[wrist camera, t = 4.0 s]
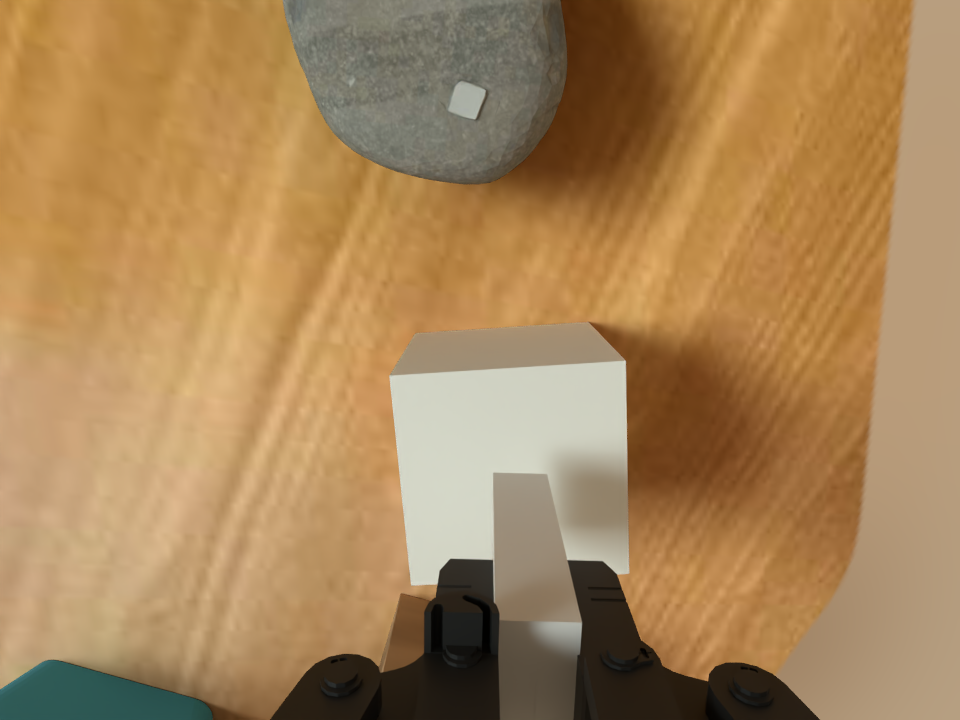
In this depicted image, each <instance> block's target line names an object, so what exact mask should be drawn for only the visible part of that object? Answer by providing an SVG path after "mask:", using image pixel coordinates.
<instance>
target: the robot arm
mask: <svg viewBox="0 0 960 720" xmlns="http://www.w3.org/2000/svg"><path fill="white" fill-rule="evenodd" d="M270 720H820V719H819V718H818V717H817V716H816V715H815V714H814V713H813V712H812V711H811V710H810V709H809V708H808V707H807V706H806V705H805V704H804V703H803V702H802V701H801V700H800V699H799V698H798V697H797V696H796V695H795V694H794V693H793V692H792V691H791V690H790V689H789V688H788V686H787V685H786V684H784V683H783V682H782V681H781V680H779V679H778V678H777V677H776V676H774V675H773V674H772V673H769V672H767V671H765V670H763V669H761V668H759V667H757V666H753V665H749V664H745V663H724V664H721V665H719V666H716V667H715V668H714V669H713V670H712V671H711V672H710V674H709V680H708V681H704V680H700V679H696V678H692V677H688V676H684V675H681V674H678V673H676V672H673V671H671V670H669V669H667V668H665V667H663V666H662V664H661V661H660V659H659V657H658V656H657V654H656V653H655V651H654V650H653V649H652V648H651V647H649V646H648V645H647V644H645V643H644V642H643V641H641V639H640V637H639V634H638V631H637V628H636V626H635V623H634V620H633V618H632V615H631V612H630V609H629V607H628V604H627V602H626V598H625V596H624V593H623V591H622V588H621V585H620V582H619V579H618V577H617V574H616V573H615V572H614V571H613V570H612V569H611V568H610V567H609V566H608V565H607V564H606V563H604V562H603V561H584V560H567V557H566V552H565V548H564V544H563V539H562V535H561V531H560V527H559V522H558V518H557V514H556V510H555V505H554V501H553V497H552V493H551V488H550V484H549V480H548V476H547V474H532V473H493V486H492V523H491V560H483V559H449V561H448V562H447V563H446V564H445V565H444V566H443V567H442V568H441V570H440V571H439V578H438V586H437V592H436V598H434V599H433V600H432V601H430V602H429V603H428V605H427V607H426V609H425V611H424V653H423V655H422V656H421V657H419V658H418V659H417V660H416V661H414V662H412V663H411V664H409V665H407V666H405V667H401V668H398V669H395V670H390V671H386V672H381V673H380V670H379V667H378V666H377V665H376V664H375V663H374V662H373V661H372V660H371V659H369V658H366V657H363V656H361V655H355V654H341V655H336V656H331V657H328V658H326V659H324V660H322V661H320V662H318V663H316V664H315V665H313V666H312V667H311V668H310V669H309V670H308V671H307V672H306V673H305V674H304V676H303V677H302V678H301V680H300V681H299V682H298V683H297V685H296V686H295V687H294V689H293V690H292V691H291V693H290V694H289V695H288V697H287V698H286V699H285V701H284V702H283V703H282V705H281V706H280V707H279V709H278V710H277V711H276V713H275V714H274V715H273V716H272V718H271V719H270Z"/></svg>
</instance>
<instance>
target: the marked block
mask: <svg viewBox="0 0 960 720" xmlns="http://www.w3.org/2000/svg"><path fill="white" fill-rule="evenodd" d="M429 602H430V601H428V600H424V599H420V598H416V597H412V596H409V595H405V594H401V595H400V598H399V601H398V605H397V608H396V612H395V615H394V618H393V622H392V625H391V629H390V632H389V635H388V639H387V642H386V646H385V649H384V652H383V656H382V659H381V663H380V666H379V670H380V673H381V672H386V671H390V670H395V669H398V668H401V667H405V666H407V665H409V664H411V663H412V662H414V661H416V660H417V659H418V658H419V657H421V656H422V655H423V653H424V611H425V609H426V607H427V605H428V603H429Z"/></svg>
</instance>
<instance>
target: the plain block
mask: <svg viewBox="0 0 960 720" xmlns="http://www.w3.org/2000/svg"><path fill="white" fill-rule="evenodd" d="M390 385H391V395H392V405H393V414H394V424H395V434H396V444H397V453H398V463H399V473H400V482H401V492H402V502H403V511H404V521H405V531H406V540H407V550H408V560H409V569H410V579H411V586H413V585H431V584H438V578H439V571H440V570H441V568H442V567H443V566H444V565H445V564H446V563H447V562H448V561H449V559H483V560H491V523H492V486H493V473H532V474H547V476H548V480H549V484H550V488H551V493H552V497H553V501H554V505H555V510H556V514H557V518H558V522H559V527H560V531H561V535H562V539H563V544H564V548H565V552H566V557H567V560H584V561H603V562H604V563H606V564H607V565H608V566H609V567H610V568H611V569H612V570H613V571H614V572H615V573H616V574H629V533H628V468H627V404H626V360H625V359H624V358H623V357H622V356H621V355H620V354H619V353H618V352H617V351H616V350H615V349H614V348H613V347H612V346H611V345H610V344H609V343H608V342H607V341H606V340H605V339H604V338H603V337H602V336H601V335H600V334H599V332H598V331H597V330H596V329H595V328H594V327H593V326H592V325H591V324H590V323H589V322H580V323H564V324H549V325H533V326H518V327H503V328H487V329H472V330H456V331H441V332H425V333H415V335H414V336H413V338H412V340H411V341H410V343H409V344H408V346H407V348H406V349H405V351H404V353H403V354H402V356H401V358H400V359H399V361H398V363H397V364H396V366H395V367H394V369H393V371H392V372H391V374H390Z"/></svg>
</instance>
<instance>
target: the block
mask: <svg viewBox="0 0 960 720" xmlns="http://www.w3.org/2000/svg"><path fill="white" fill-rule="evenodd" d="M0 720H213V716H212V712H211V710H210V708H209V707H208V706H207V705H206V704H205V703H203V702H202V701H200V700H197V699H194V698H191V697H187V696H183V695H180V694H176V693H173V692H169V691H165V690H162V689H158V688H155V687H151V686H148V685H144V684H140V683H137V682H133V681H130V680H126V679H122V678H119V677H115V676H112V675H108V674H104V673H101V672H97V671H94V670H90V669H86V668H83V667H79V666H76V665H72V664H68V663H65V662H61V661H56V660H48V661H44V662H42V663H40V664H39V665H37V666H36V667H34V668H33V669H31V670H30V671H28V672H27V673H25V674H23V675H22V676H20V677H19V678H17V679H16V680H14V681H13V682H11V683H10V684H8V685H6V686H5V687H3V688H2V689H0Z"/></svg>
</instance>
